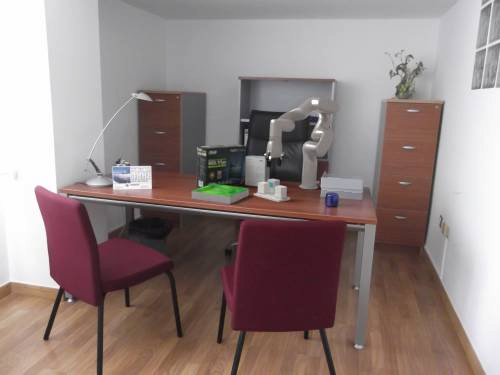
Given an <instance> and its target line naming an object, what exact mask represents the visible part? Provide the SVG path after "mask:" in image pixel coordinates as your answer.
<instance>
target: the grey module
mask: <svg viewBox="0 0 500 375" xmlns="http://www.w3.org/2000/svg"><path fill="white" fill-rule="evenodd" d="M280 181H281V180H280V179H276V178H269V179H268V181H267V182H268V183H270V186H269V193H273V194H275V186H280V185H281V184H280V183H281V182H280Z"/></svg>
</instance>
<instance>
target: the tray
mask: <svg viewBox="0 0 500 375" xmlns="http://www.w3.org/2000/svg"><path fill="white" fill-rule="evenodd" d="M249 191H250V189H249V187H241V186H235V185H230V186H226V185H218V184H211V185H208V186H205V187H202V188H200V187H198V188H196V189H194V190H191V199H192V200H199V201H206V202H211V203H212V202H213V203H217V204H218V203H219V204H226V205H231V203H232V204H234V203H235V202H238V201H240V200H242V199H244V198H247V197H248V196H249ZM233 202H234V203H233Z"/></svg>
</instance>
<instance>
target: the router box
mask: <svg viewBox="0 0 500 375" xmlns="http://www.w3.org/2000/svg"><path fill="white" fill-rule="evenodd" d="M196 149H197V151H196V182H195V183H196V187H197V188H202V187H205V186H208V185H211V184H218V185H226V186H236V185H242V184H244V185H245V156H247V146H246V145H243V144H227V145H226V144H225V145H222V144H221V145H206V146H197V147H196Z"/></svg>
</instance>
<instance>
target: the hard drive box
mask: <svg viewBox="0 0 500 375" xmlns="http://www.w3.org/2000/svg"><path fill="white" fill-rule="evenodd" d="M266 164H267V161H266V159H265V156H264V155H263V156H262V155H246V156H245V183H244V185H245V186H251V187H258V182H267V181H268V179H270V168H271V167H266Z"/></svg>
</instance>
